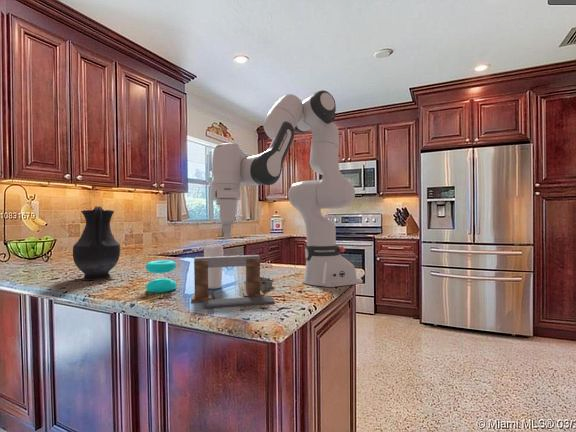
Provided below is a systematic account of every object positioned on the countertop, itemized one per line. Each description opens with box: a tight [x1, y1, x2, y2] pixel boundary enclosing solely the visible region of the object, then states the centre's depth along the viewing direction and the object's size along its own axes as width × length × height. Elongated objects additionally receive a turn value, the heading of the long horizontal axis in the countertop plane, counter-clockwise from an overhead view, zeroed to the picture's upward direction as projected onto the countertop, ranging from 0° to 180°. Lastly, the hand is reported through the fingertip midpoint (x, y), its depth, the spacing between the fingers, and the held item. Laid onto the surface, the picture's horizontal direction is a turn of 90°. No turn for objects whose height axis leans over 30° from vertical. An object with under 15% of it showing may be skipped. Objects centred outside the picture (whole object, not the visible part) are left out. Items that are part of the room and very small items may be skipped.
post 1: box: [190, 260, 213, 303], centre depth 104 cm, size 6×6×12 cm
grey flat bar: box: [204, 295, 276, 310], centre depth 99 cm, size 20×7×1 cm, turn 103°
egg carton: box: [243, 276, 274, 293], centre depth 118 cm, size 11×8×4 cm
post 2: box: [242, 258, 265, 298], centre depth 107 cm, size 6×6×12 cm
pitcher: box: [72, 205, 121, 281], centre depth 139 cm, size 17×21×30 cm
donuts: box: [145, 259, 177, 294], centre depth 117 cm, size 10×10×10 cm
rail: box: [193, 254, 261, 268], centre depth 105 cm, size 20×3×3 cm, turn 103°
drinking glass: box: [203, 244, 224, 290], centre depth 120 cm, size 7×7×15 cm
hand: (226, 238), depth 105 cm, fingers open, 8 cm apart
